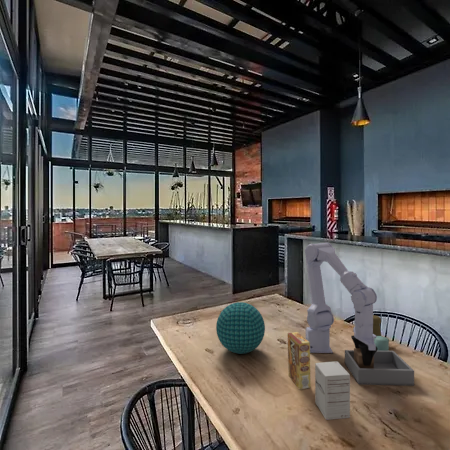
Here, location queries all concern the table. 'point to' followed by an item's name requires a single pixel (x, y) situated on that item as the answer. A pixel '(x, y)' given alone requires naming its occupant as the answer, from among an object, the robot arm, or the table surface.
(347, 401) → the supplement box
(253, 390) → the table surface
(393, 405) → the table surface
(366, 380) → the tote
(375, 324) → the cork
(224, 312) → the decorative ball
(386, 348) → the teal cylinder
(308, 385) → the candy box
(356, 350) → the walnut cube
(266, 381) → the table surface
